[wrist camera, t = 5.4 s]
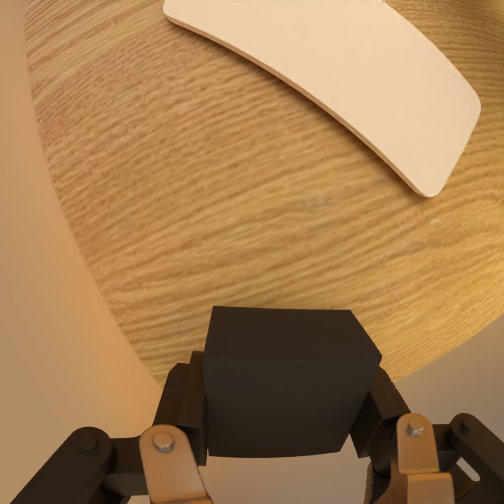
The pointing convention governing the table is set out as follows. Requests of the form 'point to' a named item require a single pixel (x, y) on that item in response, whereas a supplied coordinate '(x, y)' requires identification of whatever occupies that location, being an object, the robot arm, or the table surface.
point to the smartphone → (354, 74)
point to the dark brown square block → (284, 380)
